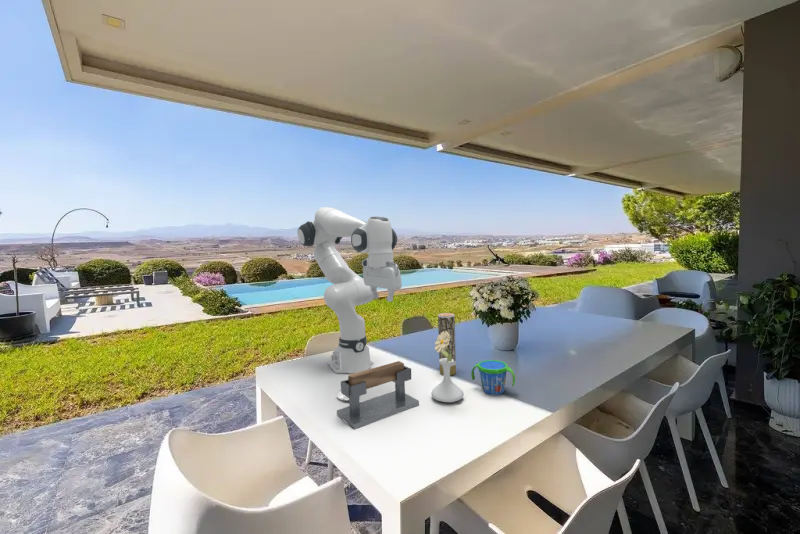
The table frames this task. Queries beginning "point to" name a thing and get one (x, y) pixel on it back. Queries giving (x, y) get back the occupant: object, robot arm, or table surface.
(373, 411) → the bracket stand
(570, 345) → the table surface
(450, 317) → the grey wooden cylinder
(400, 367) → the walnut rail
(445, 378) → the flower in vase
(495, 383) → the snack cup
